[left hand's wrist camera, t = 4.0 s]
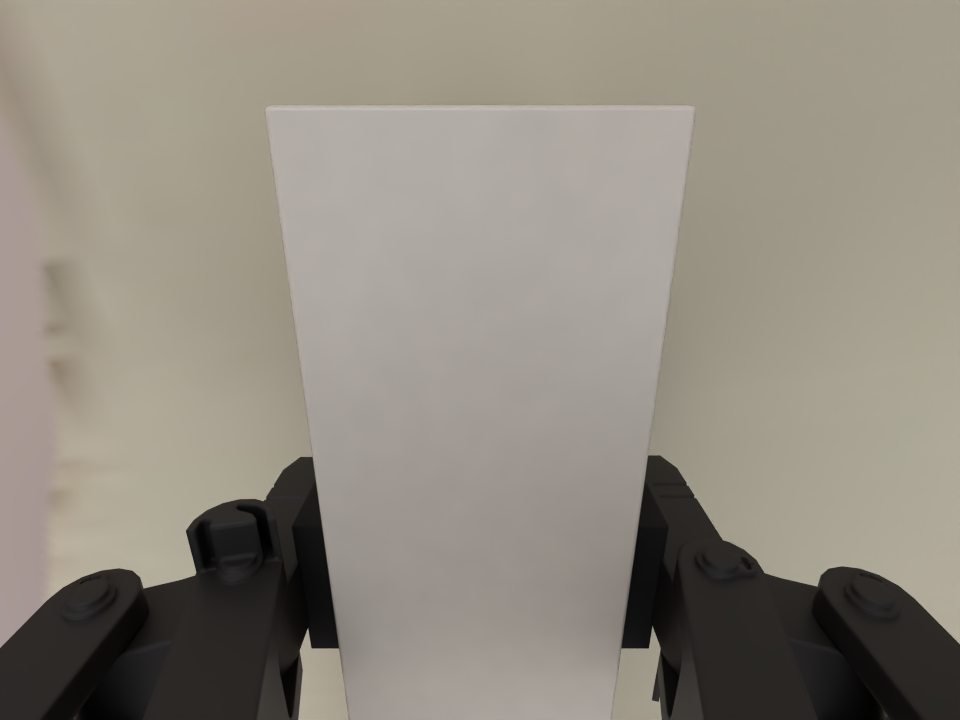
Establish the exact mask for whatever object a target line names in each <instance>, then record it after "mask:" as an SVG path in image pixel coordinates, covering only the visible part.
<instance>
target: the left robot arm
mask: <svg viewBox="0 0 960 720" xmlns="http://www.w3.org/2000/svg"><path fill="white" fill-rule="evenodd" d="M186 533H187V537H188V541H189V545H190V549H191V553H192V556H193V560H194V564H195V568H196V575H195V576H192V577H189V578H186V579H183V580H179V581H175V582H170V583H166V584H162V585H157V586H153V587H149V588H145V589H143V585H142V582H141V579H140V577H139V576H138V575H137V574H135V573H134V572H133V571H130V570H125V569H111V570H103V571H99V572H96V573H93V574H90V575H88V576H85V577H82V578H80V579H78V580H76V581H74V582H73V583H71V584H69V585H67V586H65V587H63V588H62V589H61V590H60V591H58V592H57V593H56V594H55V595H53V596H52V597H51V598H50V599H48V600H47V601H46V602H45V603H44V604H43V605H42V606H41V607H40V608H39V609H38V610H37V611H36V612H35V613H34V614H33V615H32V616H31V617H30V618H29V620H28V621H27V622H26V623H25V624H24V625H23V626H22V627H21V628H20V629H19V630H18V631H17V632H16V633H15V634H14V635H13V636H12V637H11V638H10V639H9V640H8V641H7V642H6V643H5V644H4V645H3V646H2V647H1V648H0V720H298V716H299V705H300V694H301V682H302V671H303V670H302V663H301V657H300V651H299V650H300V648H301V645H302V642H303V640H304V637H305V634H306V631H307V629H309V635H310V641H311V647H312V648H339V643H338V636H337V629H336V622H335V614H334V607H333V600H332V593H331V586H330V578H329V571H328V564H327V557H326V549H325V542H324V535H323V528H322V521H321V513H320V506H319V499H318V492H317V484H316V477H315V470H314V463H313V457H300V458H299V459H297V460H296V461H295V462H293V463H292V464H291V465H289V466H288V467H287V468H285V469H284V470H283V471H282V473H281V475H280V476H279V478H278V479H277V481H276V483H275V484H274V488H272V489H271V491H270V492H269V494H268V495H267V498H266V500H264V501H260V500H256V499H239V500H235V501H231V502H226V503H222V504H220V505H218V506H216V507H214V508H211V509H209V510H207V511H205V512H204V513H203V514H201V515H200V516H199V517H197V518H196V519H195V520H194V521H193V522H192V523H191V525H190V526H189V527H188V529H187V530H186ZM652 625H653V628H654V631H655V633H656V636H657V639H658V642H659V644H660V647H661V651H660V657H659V662H658V668H657V673H656V679H655V685H654V691H653V697H652V700H653V701H658V702H659V697H660V703H661V715H662V720H960V644H959V643H958V642H957V641H956V640H955V639H954V638H953V637H952V636H951V635H950V634H949V633H948V632H947V631H946V630H945V629H944V628H943V627H942V626H941V625H940V624H939V623H938V622H937V621H936V620H935V619H934V618H933V617H932V616H931V615H930V614H929V613H928V612H927V611H926V610H925V609H924V608H923V607H922V606H921V605H920V604H919V603H918V602H917V601H916V600H915V599H914V598H913V597H912V596H911V595H909V594H908V593H907V592H906V591H904V590H903V589H902V588H901V587H899V586H898V585H896V584H894V583H892V582H891V581H889V580H887V579H885V578H883V577H881V576H880V575H877V574H874V573H871V572H868V571H865V570H862V569H858V568H850V567H836V568H830V569H828V570H827V571H826V572H824V573H823V574H822V575H821V577H820V580H819V583H818V587H816V586H812V585H808V584H803V583H799V582H795V581H790V580H786V579H782V578H778V577H775V576H771V575H768V574H765V573H764V572H763V570H762V568H761V567H760V565H759V564H758V562H757V561H756V559H754V558H753V557H752V556H751V555H750V554H748V553H747V552H746V551H745V550H743V549H741V548H739V547H738V546H736V545H734V544H732V543H730V542H727V541H723V540H722V538H721V537H720V535H719V534H718V532H717V530H716V529H715V527H714V526H713V524H712V523H711V521H710V519H709V518H708V516H707V515H706V513H705V512H704V510H703V508H702V507H701V505H700V504H699V502H698V500H697V499H696V498H694V494H693V493H692V491H691V489H690V488H689V486H687V485H686V482H685V480H684V478H683V477H682V475H681V474H680V472H679V471H678V469H677V468H676V467H675V466H673V465H672V464H671V463H669V462H668V461H667V460H665V459H664V458H663V457H661V456H648V459H647V466H646V474H645V481H644V488H643V495H642V502H641V510H640V517H639V524H638V531H637V538H636V546H635V553H634V560H633V567H632V574H631V581H630V589H629V596H628V603H627V610H626V617H625V625H624V632H623V639H622V646H621V648H649V643H650V637H651V631H652Z"/></svg>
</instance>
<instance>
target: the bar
mask: <svg viewBox="0 0 960 720" xmlns="http://www.w3.org/2000/svg"><path fill="white" fill-rule="evenodd" d="M695 114H696V111H695V107H693V106H691V105H270V106H268V107H266V109H265V116H266V124H267V131H268V138H269V145H270V152H271V160H272V167H273V174H274V181H275V189H276V196H277V203H278V210H279V217H280V225H281V232H282V239H283V246H284V253H285V261H286V268H287V275H288V282H289V290H290V297H291V304H292V311H293V318H294V326H295V333H296V340H297V347H298V355H299V362H300V369H301V376H302V383H303V391H304V398H305V405H306V412H307V420H308V427H309V434H310V441H311V448H312V456H313V463H314V470H315V477H316V484H317V492H318V499H319V506H320V513H321V521H322V528H323V535H324V542H325V549H326V557H327V564H328V571H329V578H330V586H331V593H332V600H333V607H334V614H335V622H336V629H337V636H338V643H339V650H340V658H341V665H342V672H343V679H344V687H345V694H346V701H347V708H348V715H349V720H611V718H612V711H613V704H614V697H615V689H616V682H617V675H618V668H619V661H620V653H621V646H622V639H623V632H624V625H625V617H626V610H627V603H628V596H629V589H630V581H631V574H632V567H633V560H634V553H635V546H636V538H637V531H638V524H639V517H640V510H641V502H642V495H643V488H644V481H645V474H646V466H647V459H648V452H649V445H650V438H651V430H652V423H653V416H654V409H655V402H656V394H657V387H658V380H659V373H660V366H661V358H662V351H663V344H664V337H665V330H666V322H667V315H668V308H669V301H670V294H671V287H672V279H673V272H674V265H675V258H676V251H677V243H678V236H679V229H680V222H681V215H682V207H683V200H684V193H685V186H686V179H687V171H688V164H689V157H690V150H691V143H692V135H693V128H694V121H695Z"/></svg>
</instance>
